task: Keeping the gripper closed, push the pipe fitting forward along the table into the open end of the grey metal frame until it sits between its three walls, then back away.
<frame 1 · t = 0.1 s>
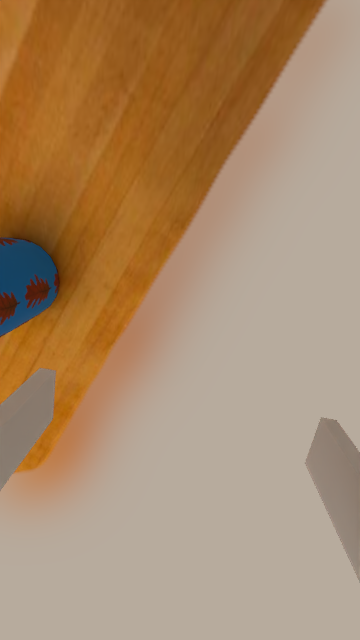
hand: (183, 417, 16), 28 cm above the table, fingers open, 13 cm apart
thermos: (21, 277, 43), on the table
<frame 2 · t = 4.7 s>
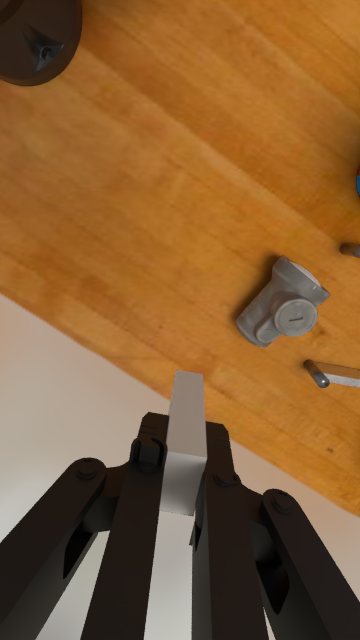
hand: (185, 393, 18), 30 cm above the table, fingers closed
pipe fitting: (270, 299, 47), on the table
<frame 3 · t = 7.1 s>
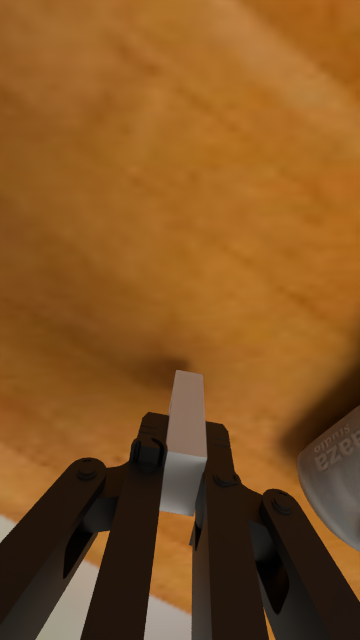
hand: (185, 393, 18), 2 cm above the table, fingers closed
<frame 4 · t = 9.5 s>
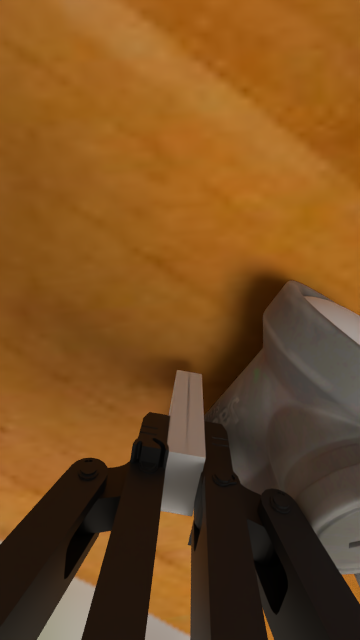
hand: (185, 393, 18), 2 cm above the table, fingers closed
pipe fitting: (260, 377, 19), on the table, touching gripper, hand
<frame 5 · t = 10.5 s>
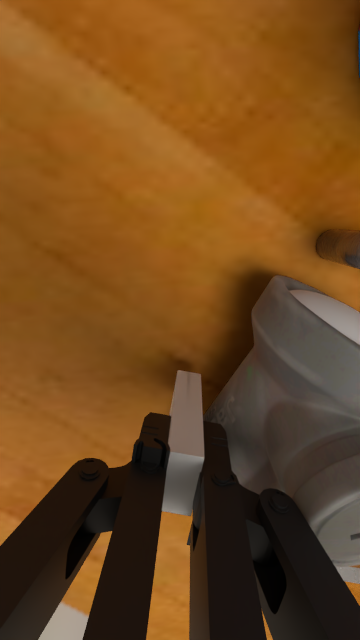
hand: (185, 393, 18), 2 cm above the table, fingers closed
pipe fitting: (257, 373, 19), on the table, touching gripper, hand
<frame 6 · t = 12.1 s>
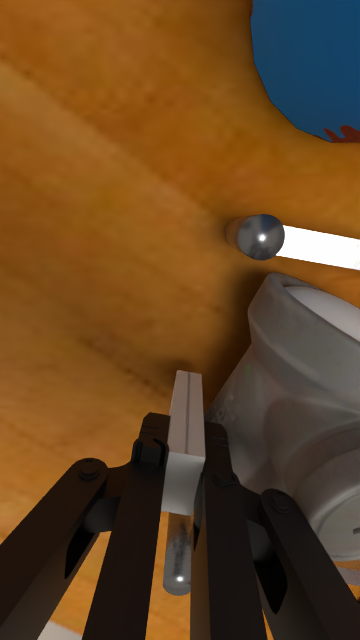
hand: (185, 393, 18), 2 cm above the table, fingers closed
pipe fitting: (256, 371, 19), on the table, touching gripper, hand
grey metal frame: (326, 401, 20), on the table
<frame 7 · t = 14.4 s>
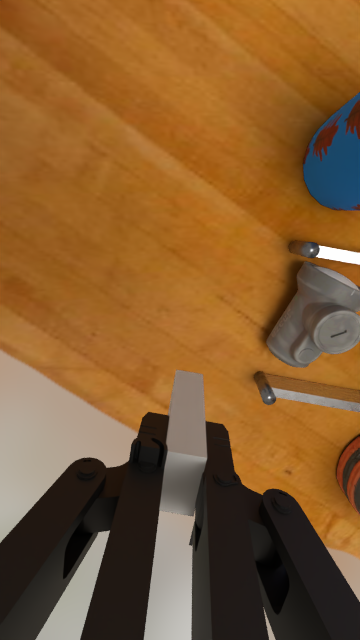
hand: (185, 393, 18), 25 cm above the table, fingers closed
thermos: (348, 163, 36), on the table
pipe fitting: (299, 310, 42), on the table
grey metal frame: (333, 326, 42), on the table
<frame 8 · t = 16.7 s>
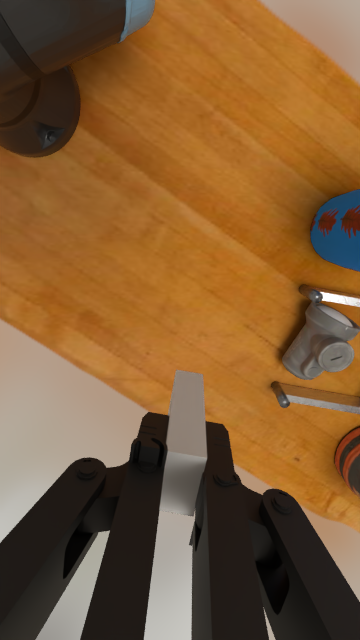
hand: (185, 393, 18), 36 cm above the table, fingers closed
thermos: (343, 229, 49), on the table
pipe fitting: (307, 335, 55), on the table
grey metal frame: (332, 347, 55), on the table
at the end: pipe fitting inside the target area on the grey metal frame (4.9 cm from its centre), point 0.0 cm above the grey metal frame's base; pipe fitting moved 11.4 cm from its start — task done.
